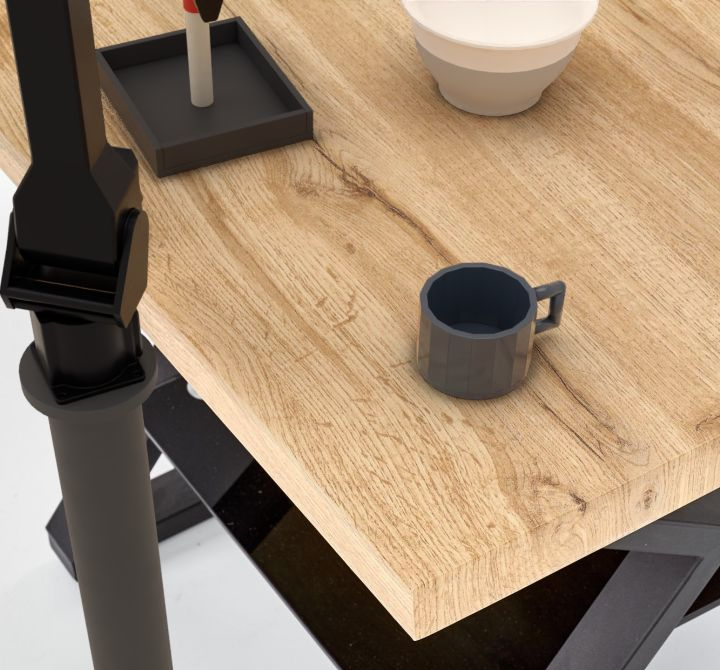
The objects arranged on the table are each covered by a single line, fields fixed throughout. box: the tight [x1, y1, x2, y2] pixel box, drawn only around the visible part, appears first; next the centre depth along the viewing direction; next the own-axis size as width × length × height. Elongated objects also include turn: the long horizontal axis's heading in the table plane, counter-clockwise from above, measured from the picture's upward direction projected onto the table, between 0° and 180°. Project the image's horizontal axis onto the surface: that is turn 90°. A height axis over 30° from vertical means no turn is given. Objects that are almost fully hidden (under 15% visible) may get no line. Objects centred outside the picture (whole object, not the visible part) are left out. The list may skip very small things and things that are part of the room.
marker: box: [182, 0, 213, 107], centre depth 124 cm, size 2×2×11 cm
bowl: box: [399, 0, 600, 117], centre depth 128 cm, size 16×16×9 cm
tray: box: [95, 15, 314, 179], centre depth 128 cm, size 13×15×3 cm
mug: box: [415, 261, 567, 401], centre depth 107 cm, size 11×8×6 cm
